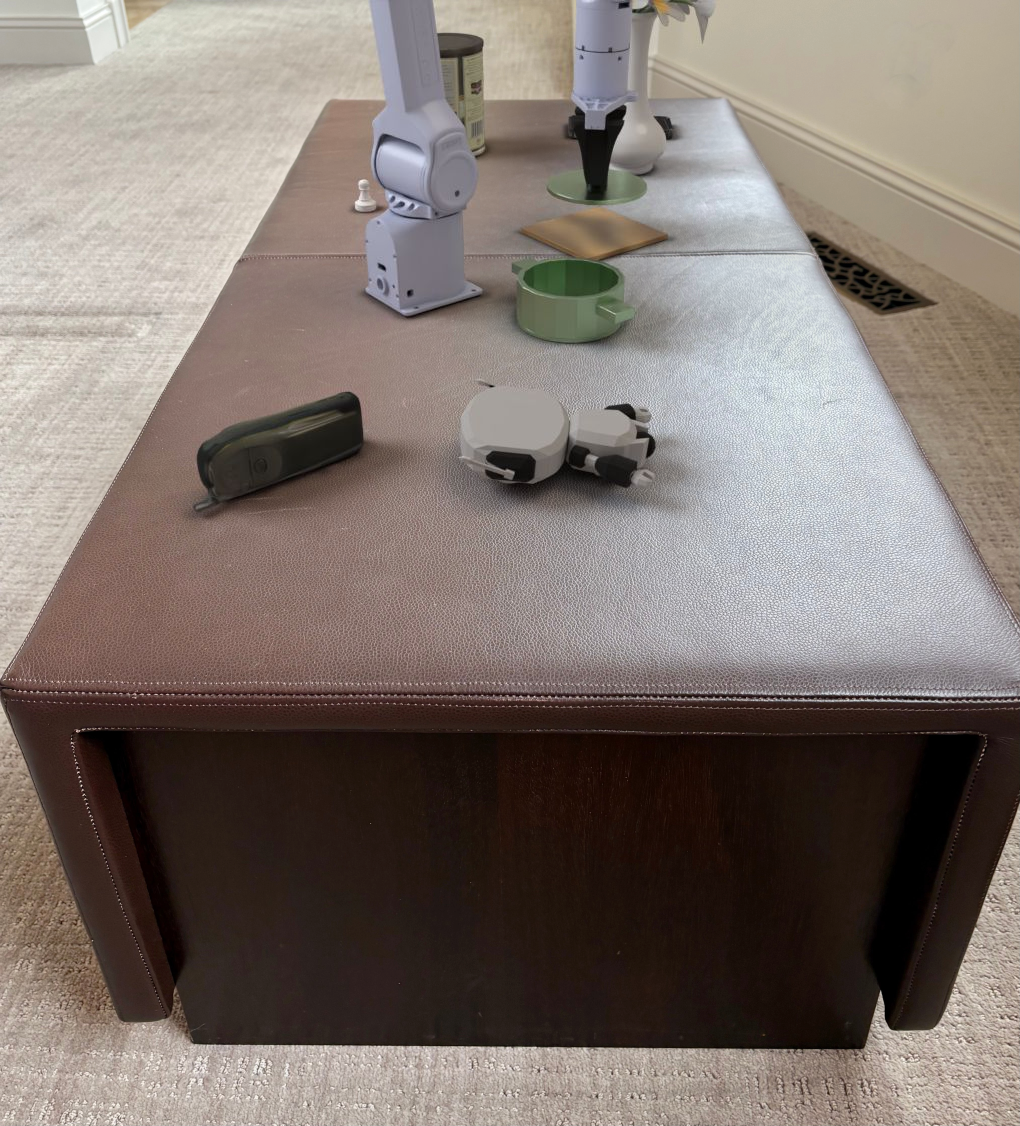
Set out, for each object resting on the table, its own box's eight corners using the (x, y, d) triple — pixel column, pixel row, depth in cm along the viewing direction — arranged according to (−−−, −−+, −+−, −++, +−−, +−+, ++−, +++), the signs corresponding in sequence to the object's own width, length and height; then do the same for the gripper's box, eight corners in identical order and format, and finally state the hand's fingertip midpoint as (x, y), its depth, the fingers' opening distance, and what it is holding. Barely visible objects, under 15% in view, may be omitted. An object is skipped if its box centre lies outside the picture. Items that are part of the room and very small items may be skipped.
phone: (673, 130, 153) (569, 129, 153) (673, 139, 153) (568, 137, 154) (669, 116, 159) (568, 115, 159) (668, 123, 160) (568, 122, 160)
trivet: (588, 263, 116) (588, 258, 116) (520, 232, 124) (520, 227, 123) (667, 239, 122) (668, 234, 121) (598, 211, 129) (598, 206, 129)
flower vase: (709, 183, 138) (734, -37, 123) (567, 183, 138) (574, -37, 123) (695, 153, 148) (716, -53, 133) (563, 153, 148) (569, -53, 133)
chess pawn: (351, 208, 130) (348, 179, 128) (369, 203, 132) (367, 175, 130) (362, 213, 129) (359, 184, 127) (380, 209, 130) (378, 180, 128)
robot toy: (648, 437, 88) (467, 419, 88) (656, 388, 85) (469, 370, 85) (652, 522, 78) (449, 502, 78) (662, 470, 75) (451, 449, 76)
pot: (581, 363, 97) (583, 318, 94) (480, 307, 107) (479, 264, 104) (662, 333, 102) (666, 289, 99) (559, 282, 112) (560, 241, 109)
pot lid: (591, 218, 114) (593, 173, 111) (526, 191, 121) (526, 148, 118) (667, 196, 119) (670, 153, 116) (601, 172, 126) (603, 130, 123)
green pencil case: (346, 382, 84) (170, 443, 76) (368, 396, 82) (190, 459, 74) (350, 437, 87) (182, 502, 79) (372, 452, 85) (201, 519, 77)
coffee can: (418, 138, 154) (413, 31, 146) (489, 140, 153) (487, 32, 145) (406, 159, 146) (399, 47, 138) (480, 161, 145) (478, 49, 137)
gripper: (638, 63, 105) (629, 202, 113) (643, 33, 116) (635, 161, 124) (566, 62, 105) (563, 199, 113) (578, 31, 117) (574, 159, 125)
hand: (596, 179), depth 119 cm, fingers closed on pot lid, 2 cm apart
